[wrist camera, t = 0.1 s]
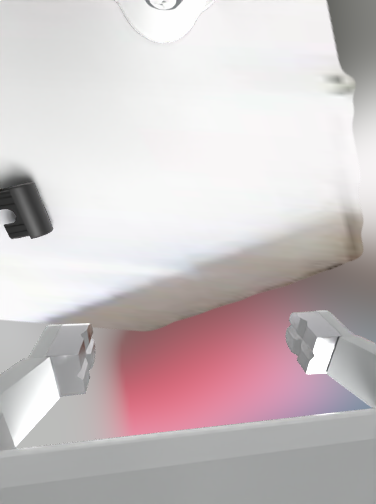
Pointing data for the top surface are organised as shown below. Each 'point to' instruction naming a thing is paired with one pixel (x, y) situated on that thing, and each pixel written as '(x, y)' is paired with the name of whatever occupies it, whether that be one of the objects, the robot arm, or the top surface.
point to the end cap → (25, 211)
